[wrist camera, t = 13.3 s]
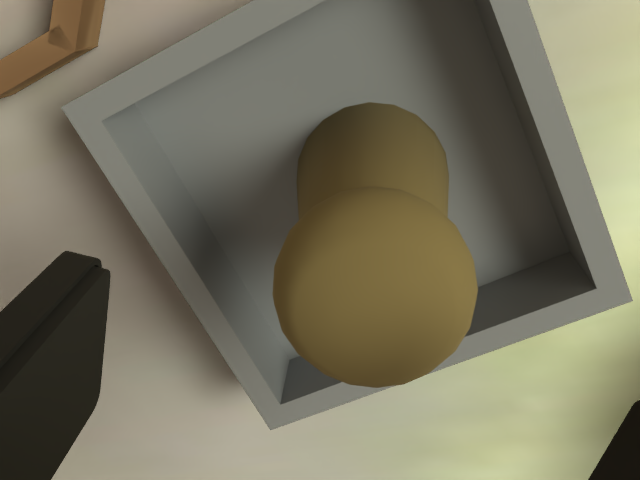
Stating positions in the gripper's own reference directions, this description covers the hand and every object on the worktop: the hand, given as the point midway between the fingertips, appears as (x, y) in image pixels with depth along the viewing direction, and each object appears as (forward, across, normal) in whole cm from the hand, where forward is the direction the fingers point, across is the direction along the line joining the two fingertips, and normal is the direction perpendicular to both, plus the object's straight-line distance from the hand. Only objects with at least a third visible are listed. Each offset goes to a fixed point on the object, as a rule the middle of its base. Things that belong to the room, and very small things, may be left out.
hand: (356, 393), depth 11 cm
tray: (+15, 0, +1) cm, 15 cm away
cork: (+15, 0, +1) cm, 15 cm away
